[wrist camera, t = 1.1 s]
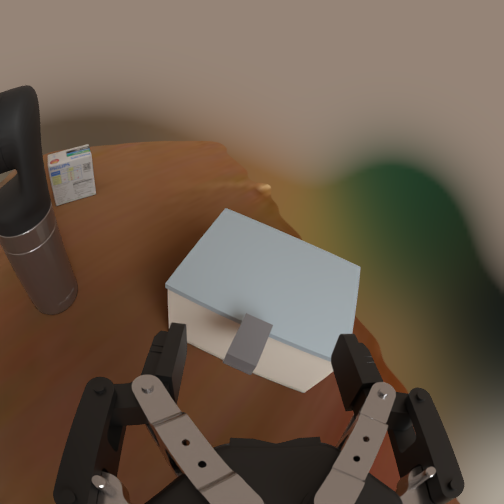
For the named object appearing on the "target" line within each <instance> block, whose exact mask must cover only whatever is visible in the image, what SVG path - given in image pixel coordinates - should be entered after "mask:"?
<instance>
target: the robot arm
mask: <svg viewBox="0 0 504 504" xmlns="http://www.w3.org/2000/svg"><path fill="white" fill-rule="evenodd" d="M13 169H16V170H17V174H16V176H15V177H13V178H12V179H11V180H10V181H9V182H7V183H6V184H5V185H4V186H3V187H2V188H1V189H0V243H1V245H2V247H3V249H4V251H5V253H6V255H7V258H8V259H9V261H10V263H11V265H12V267H13V269H14V271H15V273H16V275H17V277H18V278H19V280H20V282H21V284H22V285H23V287H24V289H25V290H26V292H27V294H28V296H29V297H30V299H31V300H32V302H33V304H34V305H35V307H36V308H37V309H38V310H39V311H40V312H42V313H44V314H52V315H53V314H58V313H60V312H63V311H64V310H66V309H67V308H68V307H69V306H70V305H71V304H72V303H73V301H74V300H75V298H76V295H77V291H78V286H77V281H76V279H75V276H74V274H73V271H72V268H71V265H70V262H69V260H68V257H67V254H66V251H65V248H64V245H63V242H62V238H61V235H60V232H59V229H58V225H57V222H56V218H55V215H54V211H53V207H52V203H51V199H50V195H49V190H48V186H47V180H46V175H45V169H44V163H43V156H42V147H41V133H40V114H39V104H38V98H37V94H36V92H35V90H34V89H33V88H32V87H31V86H21V87H17V88H14V89H11V90H8V91H5V92H2V93H0V174H1V173H4V172H7V171H10V170H13ZM186 355H187V330H186V324H182V323H174V322H172V323H171V325H170V328H169V331H168V332H166V331H160V332H159V333H158V334H157V335H156V336H155V337H154V339H153V342H152V346H151V348H150V350H149V353H148V356H147V359H146V362H145V365H144V368H143V371H142V373H141V375H140V376H139V377H137V378H136V379H135V380H134V381H133V382H131V383H127V384H113V383H112V382H111V381H110V380H109V379H107V378H104V377H96V378H93V379H91V380H90V381H89V382H88V383H87V385H86V387H85V390H84V392H83V395H82V398H81V400H80V403H79V406H78V409H77V412H76V415H75V417H74V420H73V423H72V426H71V429H70V433H69V436H68V439H67V442H66V446H65V449H64V452H63V456H62V459H61V463H60V467H59V471H58V475H57V479H56V483H55V487H54V492H53V497H54V500H55V502H56V504H131V503H130V500H129V492H128V490H127V488H126V487H125V486H124V485H123V484H122V483H121V482H120V481H119V480H118V479H117V472H118V466H119V461H120V455H121V450H122V445H123V440H124V435H125V430H126V425H139V424H145V426H146V427H147V429H148V431H149V433H150V434H151V436H152V438H153V439H154V441H155V443H156V444H157V446H158V447H159V449H160V451H161V452H162V454H163V456H164V458H165V460H166V461H167V463H168V464H169V466H170V467H171V469H172V470H173V472H174V473H175V475H176V476H177V478H176V479H175V480H174V481H173V482H171V483H170V484H169V485H168V486H166V487H165V488H164V489H163V490H162V491H160V492H159V493H158V494H156V495H155V496H154V497H153V498H151V499H150V500H149V501H147V502H146V503H145V504H445V503H447V502H449V501H451V500H452V499H454V498H456V497H458V496H459V495H460V494H461V493H462V491H463V489H464V480H463V477H462V474H461V471H460V468H459V465H458V463H457V460H456V457H455V454H454V451H453V449H452V446H451V444H450V441H449V438H448V436H447V433H446V431H445V429H444V426H443V424H442V421H441V419H440V416H439V414H438V412H437V410H436V407H435V405H434V403H433V401H432V398H431V396H430V394H429V393H428V392H427V391H426V390H424V389H422V388H414V389H412V390H411V391H410V393H409V394H406V393H399V392H395V390H394V388H393V387H392V386H391V385H389V384H387V383H384V382H383V380H382V378H381V376H380V373H379V371H378V369H377V367H376V365H375V363H374V360H373V358H372V357H371V354H370V352H369V350H368V348H367V347H366V346H365V345H364V344H363V343H358V340H357V338H356V336H355V335H354V334H340V335H339V337H338V340H337V342H336V345H335V347H334V350H333V352H332V355H331V365H332V368H333V371H334V374H335V378H336V381H337V384H338V387H339V391H340V394H341V397H342V401H343V404H344V407H345V411H352V410H353V411H354V415H353V416H352V418H351V420H350V422H349V424H348V426H347V428H346V429H345V431H344V433H343V435H342V437H341V438H340V440H339V442H338V443H337V445H336V446H335V447H334V446H332V445H329V444H326V443H321V441H320V437H311V438H298V439H294V440H290V441H287V442H283V443H278V444H275V443H270V442H265V441H260V440H256V439H243V438H230V443H228V444H223V445H219V446H217V447H214V448H212V446H211V445H210V444H209V443H208V441H207V440H206V439H205V437H204V436H203V435H202V434H201V432H200V431H199V430H198V428H197V427H196V426H195V424H194V423H193V422H192V420H191V419H190V418H189V416H188V415H187V414H186V413H184V412H183V413H182V412H181V411H180V409H179V408H178V407H177V400H178V394H179V389H180V384H181V379H182V374H183V370H184V365H185V360H186ZM412 425H413V426H412ZM413 427H414V428H413ZM414 430H415V431H414ZM386 431H388V434H389V437H390V441H391V444H392V448H393V452H394V455H395V459H396V463H397V467H398V471H399V475H400V480H399V481H398V483H397V490H396V492H395V491H393V490H392V489H390V488H389V487H388V486H386V485H385V484H383V483H382V482H381V481H379V480H378V479H377V478H375V477H374V476H373V475H371V474H370V473H369V470H370V468H371V466H372V464H373V462H374V460H375V457H376V455H377V453H378V450H379V448H380V446H381V443H382V441H383V438H384V436H385V433H386ZM415 432H416V434H415Z"/></svg>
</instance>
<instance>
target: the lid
mask: <svg viewBox="0 0 504 504" xmlns="http://www.w3.org/2000/svg"><path fill="white" fill-rule="evenodd" d="M359 277H360V266H357V265H355V264H353V263H351V262H348V261H346V260H344V259H342V258H340V257H338V256H336V255H333V254H331V253H329V252H327V251H324V250H322V249H320V248H317V247H316V246H313V245H311V244H309V243H307V242H304V241H302V240H300V239H297V238H295V237H293V236H291V235H288V234H286V233H284V232H281V231H279V230H277V229H274V228H272V227H270V226H267V225H265V224H263V223H260V222H258V221H256V220H253V219H251V218H249V217H246V216H244V215H241V214H239V213H237V212H234V211H232V210H229V209H227V208H226V209H225V210H224V211H223V212H222V213H221V214H220V216H219V217H218V218H217V219H216V221H215V222H214V223H213V224H212V225H211V227H210V228H209V229H208V230H207V231H206V233H205V234H204V235H203V236H202V238H201V239H200V240H199V241H198V243H197V244H196V245H195V246H194V248H193V249H192V250H191V251H190V253H189V254H188V255H187V256H186V258H185V259H184V260H183V261H182V263H181V264H180V265H179V266H178V268H177V269H176V270H175V272H174V273H173V274H172V275H171V277H170V278H169V279H168V281H167V282H166V283H165V288H167V289H169V290H170V291H172V292H174V293H176V294H178V295H180V296H182V297H184V298H186V299H188V300H190V301H192V302H194V303H196V304H198V305H200V306H202V307H204V308H206V309H208V310H211V311H213V312H215V313H217V314H219V315H221V316H223V317H225V318H227V319H230V320H232V321H234V322H236V323H238V324H241V325H240V327H239V329H238V331H237V333H236V335H235V337H234V339H233V341H232V343H231V345H230V347H229V349H228V351H227V353H226V356H225V358H224V361H223V363H225V364H227V365H229V366H231V367H234V368H236V369H238V370H240V371H243V372H245V373H247V374H250V375H251V373H252V372H253V371H254V369H255V368H256V366H257V364H258V362H259V359H260V357H261V354H262V352H263V349H264V347H265V345H266V342H267V340H268V337H270V338H272V339H275V340H277V341H279V342H282V343H284V344H287V345H289V346H292V347H294V348H296V349H299V350H301V351H304V352H306V353H309V354H311V355H314V356H317V357H319V358H322V359H324V360H327V361H330V362H331V355H332V352H333V350H334V347H335V345H336V342H337V340H338V337H339V335H340V334H352V330H353V324H354V317H355V310H356V302H357V295H358V286H359Z"/></svg>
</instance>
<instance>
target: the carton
mask: <svg viewBox="0 0 504 504" xmlns="http://www.w3.org/2000/svg"><path fill="white" fill-rule="evenodd" d="M168 318H169V328H170V325H171V323H172V322H174V323H182V324H186V330H187V343H189V344H191V345H193V346H195V347H197V348H199V349H201V350H203V351H205V352H208V353H210V354H212V355H214V356H216V357H218V358H220V359H222V360H224V358H225V356H226V353H227V351H228V349H229V347H230V345H231V343H232V341H233V339H234V337H235V335H236V333H237V331H238V329H239V327H240V325H241V324H238V323H236V322H234V321H232V320H230V319H227V318H225V317H223V316H221V315H219V314H217V313H215V312H213V311H211V310H208V309H206V308H204V307H202V306H200V305H198V304H196V303H194V302H192V301H190V300H188V299H186V298H184V297H182V296H180V295H178V294H176V293H174V292H172V291H170V290H169V289H168ZM332 372H333V368H332V365H331V362H330V361H327V360H324V359H322V358H319V357H317V356H314V355H311V354H309V353H306V352H304V351H301V350H299V349H296V348H294V347H292V346H289V345H287V344H284V343H282V342H279V341H277V340H275V339H272V338H270V337H268V340H267V342H266V345H265V347H264V349H263V352H262V354H261V357H260V359H259V362H258V364H257V366H256V368H255V369H254V371H253V372H252V373H254V374H256V375H259V376H261V377H264V378H266V379H268V380H271V381H273V382H276V383H279V384H281V385H284V386H286V387H289V388H292V389H294V390H297V391H300V392H303V393H305V392H306V391H307V390H309V389H310V388H312V387H313V386H314V385H316V384H317V383H318V382H320V381H321V380H322V379H324V378H325V377H326V376H328V375H329V374H330V373H332Z"/></svg>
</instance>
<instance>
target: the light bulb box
mask: <svg viewBox="0 0 504 504" xmlns="http://www.w3.org/2000/svg"><path fill="white" fill-rule="evenodd" d="M48 171H49V176H50V181H51V186H52V190H53V194H54V199H55V203H56V206H58V205H61V204H65V203H68V202H71V201H74V200H78V199H81V198H85V197H88V196H91V195H95V194H96V189H95V181H94V173H93V164H92V156H91V152H90V149H89V145H88V144H86V145H83V146H78V147H75V148H71V149H68V150H64V151H61V152H57V153H54V154H49V155H48Z"/></svg>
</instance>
